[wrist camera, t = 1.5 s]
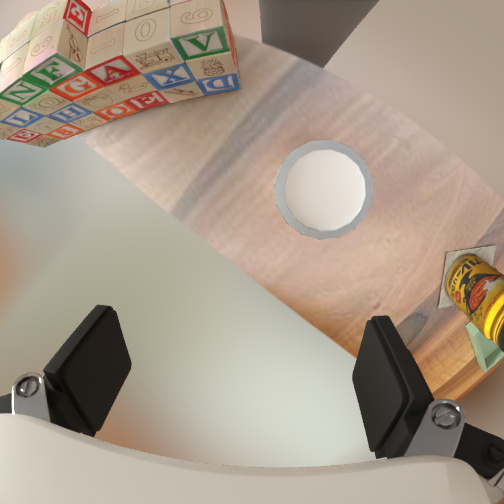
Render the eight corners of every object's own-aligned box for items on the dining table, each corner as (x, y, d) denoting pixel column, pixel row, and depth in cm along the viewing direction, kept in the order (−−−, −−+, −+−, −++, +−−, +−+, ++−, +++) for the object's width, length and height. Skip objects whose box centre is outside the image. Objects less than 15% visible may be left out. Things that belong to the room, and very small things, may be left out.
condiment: (445, 252, 27) (510, 307, 16) (495, 244, 26) (558, 288, 15) (436, 308, 29) (486, 373, 18) (485, 296, 28) (536, 348, 17)
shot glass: (305, 229, 27) (317, 259, 20) (256, 173, 25) (252, 185, 19) (362, 183, 25) (391, 199, 18) (315, 124, 23) (332, 118, 17)
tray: (465, 325, 30) (473, 336, 28) (517, 274, 27) (528, 282, 25) (477, 363, 33) (484, 373, 31) (524, 319, 30) (532, 327, 27)
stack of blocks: (234, 35, 21) (208, -61, 8) (242, 90, 21) (215, -5, 9) (46, 98, 22) (-32, 67, 10) (43, 149, 23) (-46, 132, 11)
